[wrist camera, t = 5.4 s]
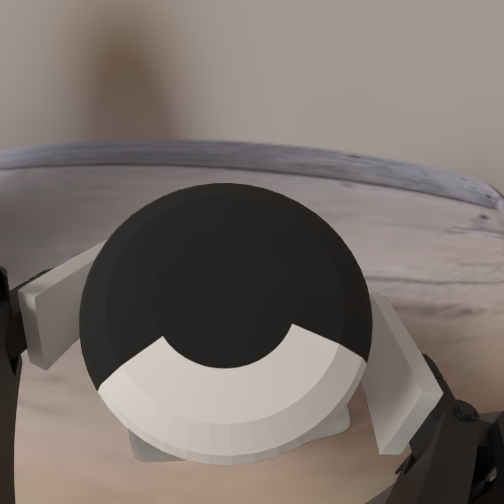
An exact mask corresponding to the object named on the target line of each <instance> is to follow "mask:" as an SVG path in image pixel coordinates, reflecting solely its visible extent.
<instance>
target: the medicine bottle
mask: <svg viewBox="0 0 504 504" xmlns="http://www.w3.org/2000/svg"><path fill="white" fill-rule="evenodd" d="M372 329H373V320H372V307H371V301H370V297H369V292H368V288H367V285H366V282H365V279H364V277H363V274H362V271H361V269H360V267H359V265H358V263H357V261H356V259H355V257H354V256H353V254H352V252H351V251H350V249H349V248H348V246H347V245H346V244H345V242H344V241H343V240H342V238H341V237H340V236H339V235H338V234H337V233H336V232H335V231H334V229H333V228H332V227H331V226H330V225H329V224H328V223H326V222H325V221H324V220H323V219H322V218H320V217H319V216H318V215H317V214H316V213H314V212H313V211H311V210H310V209H308V208H307V207H305V206H303V205H302V204H300V203H299V202H296V201H294V200H292V199H290V198H288V197H286V196H284V195H282V194H279V193H276V192H273V191H270V190H268V189H264V188H260V187H255V186H251V185H244V184H234V183H214V184H206V185H198V186H193V187H189V188H186V189H182V190H178V191H176V192H173V193H170V194H168V195H165V196H163V197H161V198H159V199H157V200H155V201H153V202H152V203H150V204H148V205H146V206H144V207H143V208H142V209H140V210H139V211H137V212H136V213H135V214H133V215H132V216H130V217H129V218H128V219H127V220H126V221H125V222H124V223H123V224H122V225H121V226H119V227H118V228H117V229H116V231H115V232H114V233H113V234H112V235H111V237H110V238H109V239H108V240H107V241H106V243H105V244H104V246H103V247H102V249H101V250H100V252H99V253H98V255H97V257H96V258H95V260H94V262H93V265H92V267H91V269H90V271H89V273H88V276H87V279H86V282H85V286H84V289H83V292H82V298H81V304H80V311H79V334H80V342H81V348H82V354H83V357H84V360H85V364H86V367H87V370H88V373H89V375H90V377H91V380H92V382H93V384H94V386H95V388H96V390H97V392H98V393H99V395H100V396H101V398H102V399H103V401H104V402H105V404H106V405H107V407H108V408H109V409H110V411H111V412H112V413H113V414H114V415H115V416H116V417H117V418H118V419H119V420H120V421H121V422H122V423H123V424H124V425H125V426H126V427H127V428H128V431H129V437H130V443H131V449H132V453H133V456H134V457H135V458H136V459H137V460H139V461H143V462H163V461H183V460H190V461H195V462H200V463H205V464H215V465H239V464H247V463H255V462H259V461H263V460H267V459H270V458H274V457H277V456H280V455H282V454H285V453H287V452H289V451H291V450H293V449H295V448H298V447H300V446H301V445H303V444H304V443H306V442H309V441H313V440H317V439H321V438H325V437H329V436H332V435H336V434H340V433H342V432H344V431H346V430H347V429H348V427H349V426H350V417H349V412H348V406H347V404H348V402H349V401H350V399H351V397H352V396H353V394H354V392H355V391H356V389H357V387H358V385H359V383H360V381H361V378H362V376H363V373H364V371H365V368H366V365H367V362H368V358H369V353H370V349H371V343H372Z"/></svg>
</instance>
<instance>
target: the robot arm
mask: <svg viewBox="0 0 504 504" xmlns="http://www.w3.org/2000/svg"><path fill="white" fill-rule="evenodd" d="M107 240H108V239H107ZM107 240H105V241H103V242H101V243H99V244H97V245H95V246H93V247H92V248H90V249H88V250H86V251H84V252H82V253H81V254H79V255H77V256H75V257H73V258H72V259H70V260H68V261H66V262H64V263H63V264H61V265H59V266H57V267H56V268H53V269H49V270H45V271H43V272H41V273H39V274H38V275H36V276H35V277H32V278H31V279H29V280H28V281H26V282H24V283H22V284H21V285H19V286H17V287H16V288H14V289H12V290H11V291H9V285H8V277H7V271H6V270H5V268H2V267H0V504H15V490H14V437H15V421H16V409H17V399H18V390H19V383H20V375H21V369H22V357H21V353H22V352H23V351H24V350H26V349H27V350H28V355H29V359H30V362H31V363H33V364H35V365H37V366H38V367H40V368H42V369H44V370H47V369H48V368H49V367H50V366H51V365H52V364H53V363H54V362H55V361H56V360H57V359H58V358H59V357H60V356H61V355H62V354H63V353H64V352H65V351H66V350H67V349H68V348H69V347H70V346H71V345H72V344H73V343H74V342H75V341H76V340H77V339H78V338H80V334H79V311H80V304H81V298H82V292H83V289H84V286H85V282H86V279H87V276H88V273H89V271H90V269H91V267H92V265H93V262H94V260H95V258H96V257H97V255H98V253H99V252H100V250H101V249H102V247H103V246H104V244H105V243H106V241H107ZM370 301H371V307H372V320H373V329H372V343H371V349H370V353H369V358H368V362H367V365H366V368H365V371H364V373H363V376H362V378H361V382H362V385H363V389H364V393H365V397H366V400H367V404H368V408H369V412H370V416H371V420H372V424H373V428H374V432H375V436H376V441H377V445H378V449H379V454H380V455H400V454H401V453H402V451H403V450H404V449H405V448H406V446H407V445H408V444H410V447H411V450H412V453H411V454H410V455H409V456H408V458H407V459H406V460H405V461H404V462H403V464H402V465H401V466H400V467H399V468H398V469H397V471H396V472H395V474H398V473H399V472H400V471H401V472H400V474H399V476H398V478H397V481H396V483H395V485H394V487H393V489H392V491H391V493H390V495H389V497H388V499H387V501H386V503H385V504H504V412H503V413H501V414H499V416H498V417H497V418H496V420H495V421H494V423H491V422H487V421H483V420H480V416H479V414H478V412H477V410H476V409H475V408H474V407H473V406H472V405H470V404H468V403H467V402H465V401H461V400H456V399H455V398H454V396H453V394H452V392H451V390H450V389H449V387H448V385H447V383H446V382H445V380H444V379H443V377H442V375H441V373H440V372H439V370H438V368H437V366H436V365H435V363H434V362H433V361H432V360H431V359H430V358H429V357H428V356H427V355H426V354H421V352H420V351H419V349H418V347H417V345H416V344H415V342H414V340H413V339H412V337H411V335H410V334H409V332H408V330H407V329H406V327H405V325H404V324H403V322H402V321H401V319H400V317H399V316H398V314H397V313H396V311H395V309H394V308H393V306H392V305H391V303H390V301H389V300H388V298H387V297H386V296H382V295H378V294H373V293H371V295H370ZM495 469H496V471H497V475H496V477H495V478H494V479H493V480H492V481H490V476H489V475H490V474H491V473H492V472H493V471H494V470H495Z"/></svg>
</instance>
